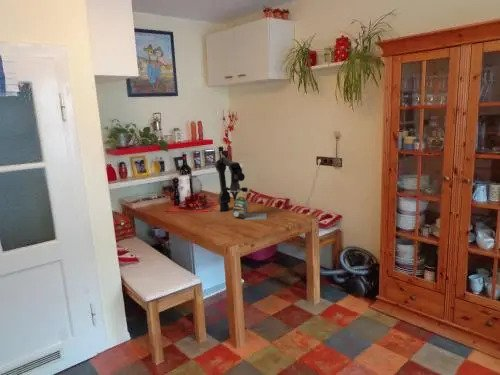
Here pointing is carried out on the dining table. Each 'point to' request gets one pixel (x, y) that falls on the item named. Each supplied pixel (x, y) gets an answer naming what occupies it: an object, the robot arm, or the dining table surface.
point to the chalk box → (240, 207)
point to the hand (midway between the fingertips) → (234, 200)
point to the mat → (256, 216)
